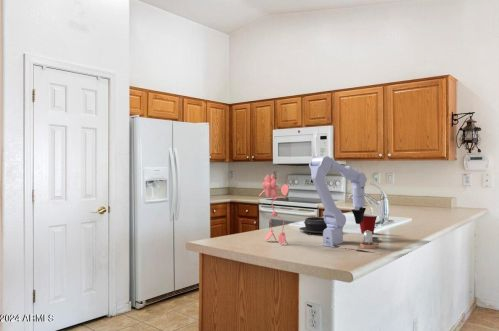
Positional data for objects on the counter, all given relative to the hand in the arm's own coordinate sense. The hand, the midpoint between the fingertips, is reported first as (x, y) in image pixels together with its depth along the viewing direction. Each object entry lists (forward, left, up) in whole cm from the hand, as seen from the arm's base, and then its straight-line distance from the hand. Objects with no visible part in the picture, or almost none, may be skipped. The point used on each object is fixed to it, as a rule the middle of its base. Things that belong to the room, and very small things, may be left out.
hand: (359, 222), depth 194 cm
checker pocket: (-2, -8, -8) cm, 12 cm away
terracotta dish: (-15, -16, -8) cm, 23 cm away
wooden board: (-8, -12, -9) cm, 17 cm away
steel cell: (-14, -16, -8) cm, 23 cm away
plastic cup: (+16, +7, -10) cm, 20 cm away
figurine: (-37, +26, -10) cm, 46 cm away
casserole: (+4, +32, -10) cm, 34 cm away
